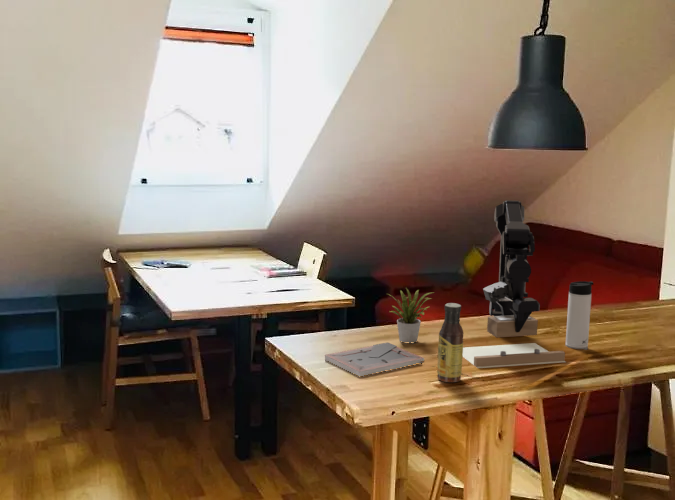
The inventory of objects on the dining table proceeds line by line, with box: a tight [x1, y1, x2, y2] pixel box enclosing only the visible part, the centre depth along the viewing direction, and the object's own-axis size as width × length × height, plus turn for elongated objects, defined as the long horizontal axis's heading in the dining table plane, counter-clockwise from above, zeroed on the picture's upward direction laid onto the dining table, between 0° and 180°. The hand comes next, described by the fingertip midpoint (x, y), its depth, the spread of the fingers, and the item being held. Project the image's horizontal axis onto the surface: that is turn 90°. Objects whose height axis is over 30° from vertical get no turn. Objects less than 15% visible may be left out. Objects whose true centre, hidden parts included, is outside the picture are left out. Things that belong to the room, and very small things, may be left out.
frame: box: [486, 315, 539, 338], centre depth 214 cm, size 6×12×5 cm, turn 104°
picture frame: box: [324, 342, 425, 377], centre depth 213 cm, size 16×2×22 cm
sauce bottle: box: [436, 302, 464, 383], centre depth 197 cm, size 7×6×20 cm
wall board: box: [462, 342, 567, 369], centre depth 218 cm, size 18×26×4 cm
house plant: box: [387, 287, 435, 343], centre depth 231 cm, size 14×14×16 cm
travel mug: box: [565, 280, 594, 351], centre depth 226 cm, size 6×7×20 cm
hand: (512, 328), depth 215 cm, fingers closed on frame, 6 cm apart
